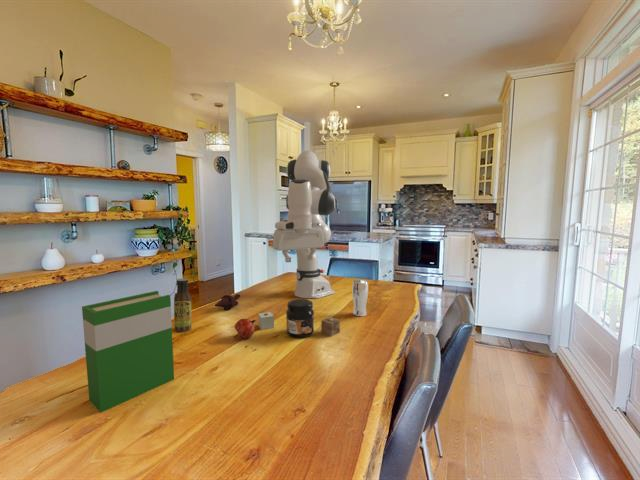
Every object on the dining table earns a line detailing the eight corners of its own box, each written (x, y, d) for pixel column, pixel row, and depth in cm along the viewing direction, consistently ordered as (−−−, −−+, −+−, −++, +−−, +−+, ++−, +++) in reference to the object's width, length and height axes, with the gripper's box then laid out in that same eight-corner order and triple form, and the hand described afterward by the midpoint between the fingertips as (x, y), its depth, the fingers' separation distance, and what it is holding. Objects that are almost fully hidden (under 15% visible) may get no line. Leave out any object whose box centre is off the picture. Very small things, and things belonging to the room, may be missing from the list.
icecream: (222, 301, 136) (246, 295, 150) (211, 294, 140) (235, 289, 153) (218, 315, 138) (242, 309, 151) (207, 309, 141) (232, 303, 154)
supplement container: (288, 340, 112) (288, 308, 111) (284, 329, 123) (284, 299, 121) (317, 337, 115) (317, 305, 114) (310, 326, 125) (310, 297, 124)
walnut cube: (329, 329, 123) (329, 316, 123) (339, 332, 120) (339, 319, 119) (321, 333, 119) (321, 319, 119) (331, 336, 116) (331, 323, 116)
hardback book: (160, 370, 91) (156, 290, 89) (174, 379, 87) (170, 295, 84) (89, 400, 77) (81, 306, 75) (100, 412, 73) (93, 313, 70)
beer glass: (367, 311, 143) (368, 279, 141) (368, 317, 136) (368, 283, 135) (351, 311, 144) (352, 279, 142) (352, 316, 137) (352, 283, 135)
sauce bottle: (173, 333, 117) (170, 281, 115) (175, 327, 123) (173, 278, 121) (191, 331, 119) (189, 280, 117) (193, 325, 125) (191, 277, 123)
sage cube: (270, 323, 128) (270, 311, 128) (274, 328, 124) (273, 315, 123) (258, 325, 126) (258, 313, 126) (261, 330, 122) (261, 317, 121)
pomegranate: (236, 348, 111) (258, 332, 110) (223, 331, 111) (246, 315, 110) (242, 341, 118) (263, 326, 118) (231, 326, 118) (251, 310, 118)
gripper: (318, 222, 123) (317, 257, 124) (270, 223, 112) (270, 262, 113) (327, 223, 118) (327, 259, 119) (278, 224, 106) (278, 264, 108)
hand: (299, 261), depth 116 cm, fingers open, 8 cm apart
